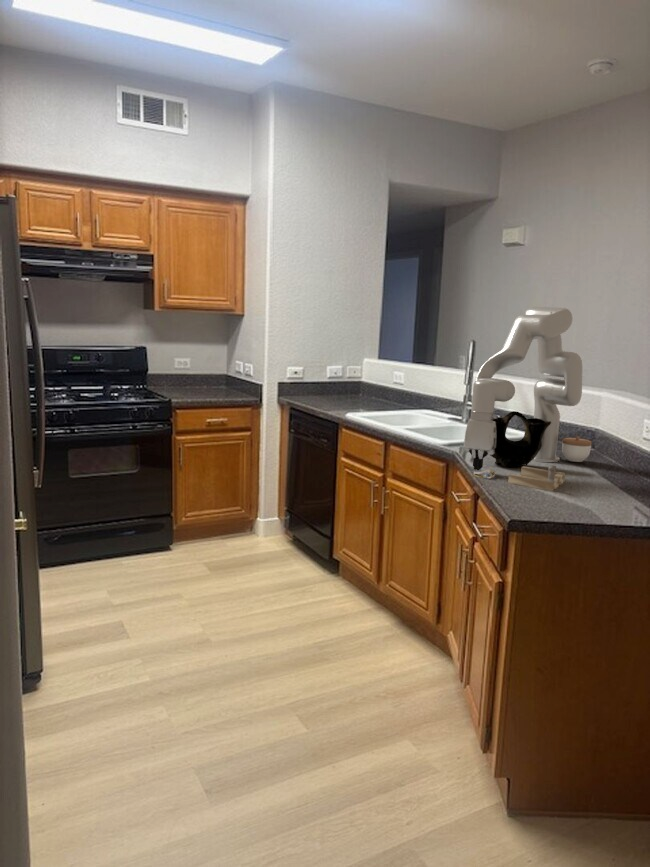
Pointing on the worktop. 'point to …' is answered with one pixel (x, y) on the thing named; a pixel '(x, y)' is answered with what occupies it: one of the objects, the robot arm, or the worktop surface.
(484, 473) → the ring
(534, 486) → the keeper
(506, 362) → the robot arm
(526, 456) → the pottery vessel
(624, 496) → the worktop surface
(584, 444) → the lidded jar
